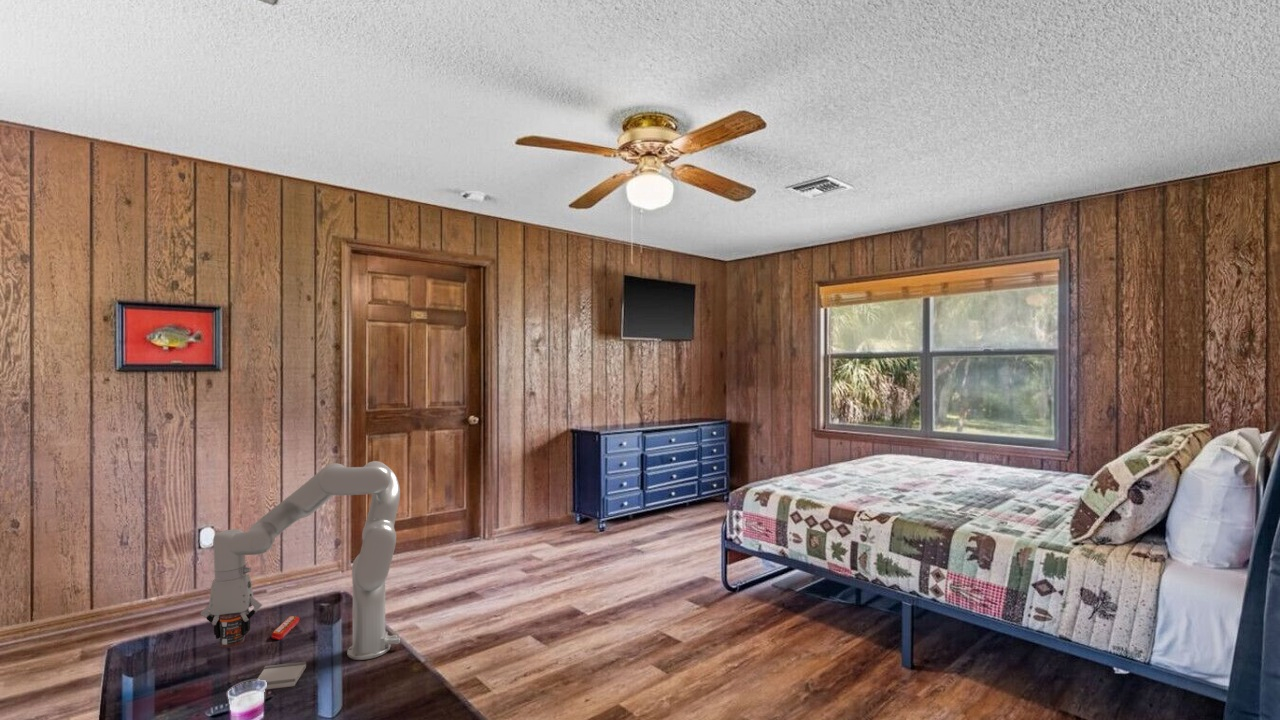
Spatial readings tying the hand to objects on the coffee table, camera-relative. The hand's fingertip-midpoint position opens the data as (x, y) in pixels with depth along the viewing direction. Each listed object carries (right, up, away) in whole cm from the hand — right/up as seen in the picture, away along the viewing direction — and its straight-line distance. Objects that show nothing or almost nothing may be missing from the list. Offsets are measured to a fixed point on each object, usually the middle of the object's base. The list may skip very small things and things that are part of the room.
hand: (232, 634), depth 176 cm
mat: (+14, -13, 0) cm, 19 cm away
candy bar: (-3, -14, +32) cm, 35 cm away
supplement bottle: (0, -3, 0) cm, 3 cm away
